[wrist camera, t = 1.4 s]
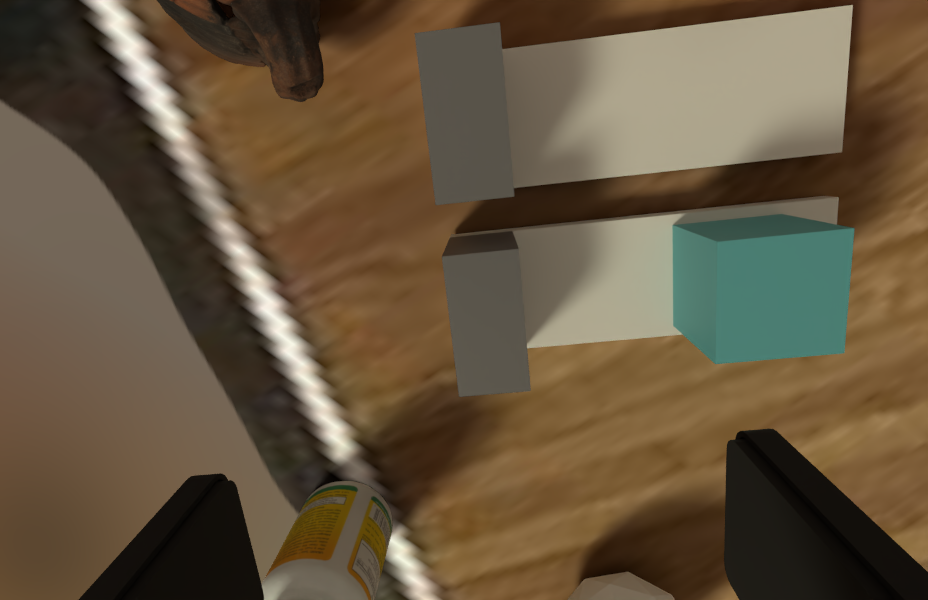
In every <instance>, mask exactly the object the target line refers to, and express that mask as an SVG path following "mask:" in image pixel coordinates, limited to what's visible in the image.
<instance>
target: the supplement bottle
mask: <svg viewBox="0 0 928 600" xmlns="http://www.w3.org/2000/svg"><path fill="white" fill-rule="evenodd" d="M392 525H393V523H392V515H391V511H390V509H389V506H388V504H387V503H386V501H385V500H384V498H383V497H382V496H381V495H380V494H379V493H378V492H376V491H375V490H374V489H372V488H371V487H369V486H367V485H365V484H362V483H359V482H354V481H337V482H332V483H329V484H326V485H323V486H321V487H320V488H318V489H317V490H315V491H314V492H313V493H312V494H311V495H310V497H309V498H308V499H307V501H306V502H305V504H304V506H303V508H302V510H301V511H300V513H299V515H298V517H297V519H296V521H295V523H294V525H293V526H292V528H291V530H290V532H289V534H288V536H287V538H286V540H285V542H284V543H283V545H282V547H281V549H280V551H279V553H278V555H277V557H276V559H275V561H274V562H273V564H272V566H271V568H270V570H269V572H268V573H267V575H266V577H265V579H264V581H263V583H262V589H263V594H264V600H374V598H375V595H376V591H377V587H378V583H379V579H380V575H381V572H382V568H383V564H384V560H385V556H386V552H387V549H388V545H389V541H390V537H391V533H392Z"/></svg>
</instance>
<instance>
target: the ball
mask: <svg viewBox="0 0 928 600" xmlns="http://www.w3.org/2000/svg"><path fill="white" fill-rule="evenodd" d="M567 600H675V599H674V597H673V596H672V595H671V594H670V593H668V592H666V591H664V590H662V589H660V588H658V587H656V586H654V585H652V584H651V583H649V582H647V581H645V580H643V579H641V578H639V577H637V576H635V575H633V574H632V573H630V572H623V573H617V574H611V575H605V576H599V577H593V578H587V579H584V580H583V581H582V582H581V584H580V585H579V586H578V587H577V588H576V590H575V591H574V592H573V593H572V595H571V596H570V597H569V598H568V599H567Z"/></svg>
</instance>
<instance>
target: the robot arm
mask: <svg viewBox="0 0 928 600" xmlns="http://www.w3.org/2000/svg"><path fill="white" fill-rule="evenodd" d="M724 564H725V570H726V574H727V577H728V580H729V582H730V584H731V586H732V588H733V589H734V591H735V593H736V595H737V596H738V598H739V600H928V572H927V571H926V570H925V569H924V568H923V567H922V566H921V565H920V564H919V563H917V562H916V561H915V560H914V559H913V558H912V557H911V556H910V555H909V554H908V553H907V552H906V551H905V550H903V549H902V548H901V547H900V546H899V545H898V544H897V543H896V542H895V541H894V540H893V539H892V538H891V537H890V536H888V535H887V534H886V533H885V532H884V531H883V530H882V529H881V528H880V527H879V526H878V525H877V524H876V523H875V522H873V521H872V520H871V519H870V518H869V517H868V516H867V515H866V514H865V513H864V512H863V511H862V510H861V509H860V508H858V507H857V506H856V505H855V504H854V503H853V502H852V501H851V500H850V499H849V498H848V497H847V496H846V495H844V494H843V493H842V492H841V491H840V490H839V489H838V488H837V487H836V486H835V485H834V484H833V483H832V482H831V481H829V480H828V479H827V478H826V477H825V476H824V475H823V474H822V473H821V472H820V471H819V470H818V469H817V468H816V467H814V466H813V465H812V464H811V463H810V462H809V461H808V460H807V459H806V458H805V457H804V456H803V455H802V454H800V453H799V452H798V451H797V450H796V449H795V448H794V447H793V446H792V445H791V444H790V443H789V442H788V441H787V440H785V439H784V438H783V437H782V436H781V435H780V434H779V433H778V432H777V431H775V430H774V429H761V430H749V431H740V432H738V433H737V435H736V439H735V440H730V441H728V444H727V458H726V504H725V549H724ZM79 600H264V594H263V589H262V585H261V581H260V577H259V573H258V569H257V565H256V561H255V558H254V554H253V549H252V546H251V542H250V538H249V534H248V530H247V526H246V523H245V518H244V514H243V510H242V507H241V502H240V499H239V494H238V490H237V487H236V485H235V483H234V482H233V481H231V480H230V481H228V479H227V478H226V476H225V475H223V474H211V475H198V476H191V477H190V478H188V479H187V480H186V481H185V482H184V483H183V485H182V486H181V487H180V488H179V489H178V490H177V491H176V493H174V495H173V496H172V497H171V498H170V499H169V500H168V501H167V502H166V503H165V505H164V506H163V507H162V508H161V509H160V510H159V511H158V512H157V513H156V515H155V516H154V517H153V518H152V519H151V520H150V521H149V522H148V523H147V524H146V526H145V527H144V528H143V529H142V530H141V531H140V532H139V533H138V534H137V536H136V537H135V538H134V539H133V540H132V541H131V542H130V543H129V545H128V546H127V547H126V548H125V549H124V550H123V551H122V552H121V553H120V555H119V556H118V557H117V558H116V559H115V560H114V561H113V562H112V563H111V564H110V565H109V567H108V568H107V569H106V570H105V571H104V572H103V573H102V574H101V576H100V577H99V578H98V579H97V580H96V581H95V582H94V583H93V584H92V585H91V587H90V588H89V589H88V590H87V591H86V592H85V593H84V594H83V595H82V596H81V598H80V599H79Z"/></svg>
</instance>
